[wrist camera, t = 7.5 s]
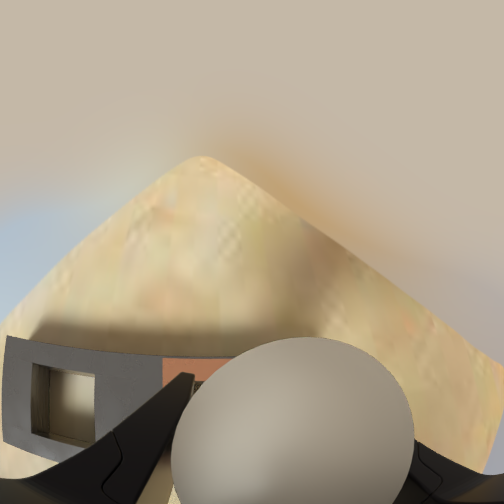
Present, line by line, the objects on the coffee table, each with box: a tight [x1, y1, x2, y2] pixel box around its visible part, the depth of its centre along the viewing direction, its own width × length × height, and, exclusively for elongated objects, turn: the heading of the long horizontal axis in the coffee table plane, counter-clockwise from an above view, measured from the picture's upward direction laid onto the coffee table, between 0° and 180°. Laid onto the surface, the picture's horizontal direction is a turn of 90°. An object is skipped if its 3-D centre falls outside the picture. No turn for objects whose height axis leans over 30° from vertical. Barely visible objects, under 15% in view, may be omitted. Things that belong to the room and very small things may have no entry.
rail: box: [2, 335, 237, 463], centre depth 16 cm, size 9×24×3 cm, turn 94°
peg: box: [171, 337, 414, 504], centre depth 8 cm, size 4×4×11 cm
